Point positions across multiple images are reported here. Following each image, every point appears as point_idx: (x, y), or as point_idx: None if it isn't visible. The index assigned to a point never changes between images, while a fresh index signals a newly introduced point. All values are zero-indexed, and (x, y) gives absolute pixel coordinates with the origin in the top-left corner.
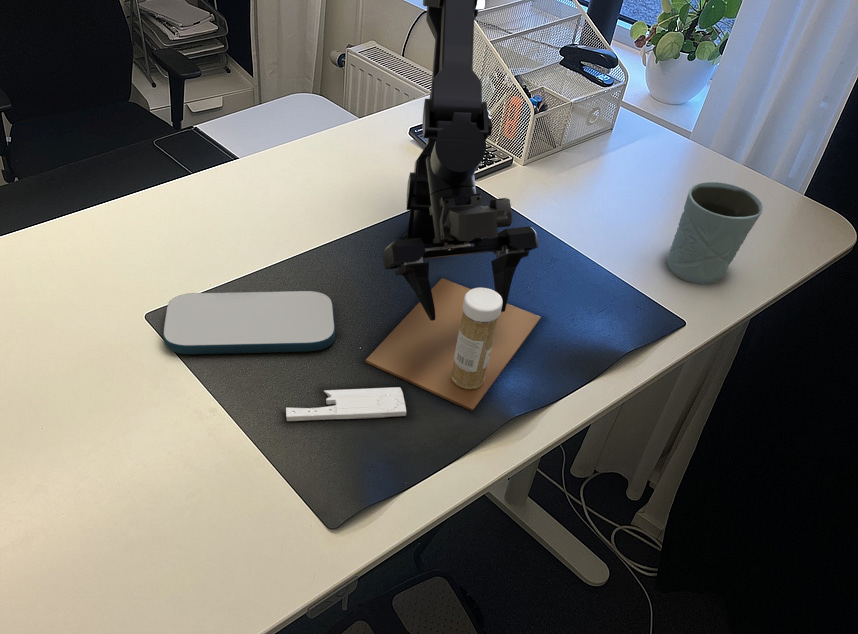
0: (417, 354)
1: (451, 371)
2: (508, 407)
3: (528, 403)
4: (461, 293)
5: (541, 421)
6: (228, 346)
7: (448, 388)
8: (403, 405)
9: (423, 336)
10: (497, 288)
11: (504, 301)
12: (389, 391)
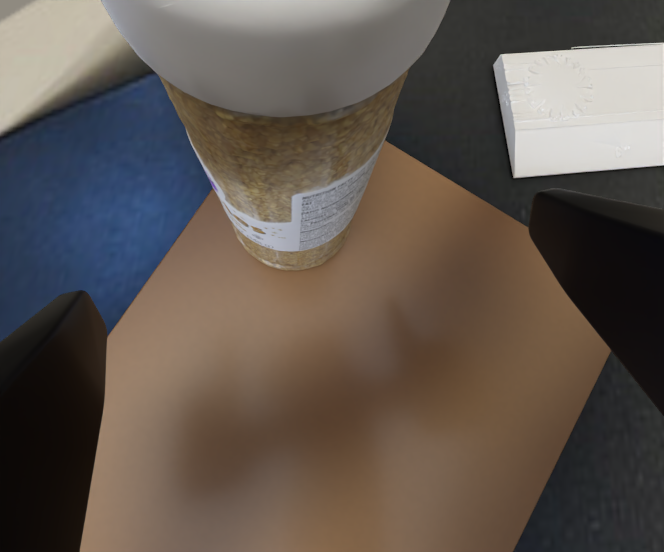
0: (462, 329)
1: (350, 225)
2: (170, 108)
3: (99, 126)
4: None
5: (75, 54)
6: None
7: None
8: (510, 77)
9: (439, 435)
10: (59, 477)
11: (38, 324)
12: (554, 140)
